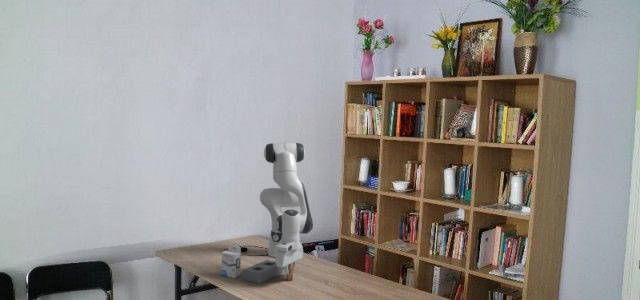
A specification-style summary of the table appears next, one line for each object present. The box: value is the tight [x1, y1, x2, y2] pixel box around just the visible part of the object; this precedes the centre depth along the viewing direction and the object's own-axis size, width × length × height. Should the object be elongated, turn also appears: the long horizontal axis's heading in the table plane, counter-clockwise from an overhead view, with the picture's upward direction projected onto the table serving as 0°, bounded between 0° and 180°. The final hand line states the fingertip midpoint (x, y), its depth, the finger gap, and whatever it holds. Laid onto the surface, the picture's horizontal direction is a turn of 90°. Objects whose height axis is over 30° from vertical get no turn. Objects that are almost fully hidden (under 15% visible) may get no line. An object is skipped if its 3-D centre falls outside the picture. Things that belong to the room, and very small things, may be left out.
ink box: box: [220, 243, 242, 279], centre depth 234 cm, size 8×5×15 cm, turn 60°
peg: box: [286, 263, 294, 282], centre depth 230 cm, size 3×3×9 cm
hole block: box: [242, 259, 284, 284], centre depth 235 cm, size 20×10×5 cm, turn 152°
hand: (289, 271), depth 230 cm, fingers open, 4 cm apart
